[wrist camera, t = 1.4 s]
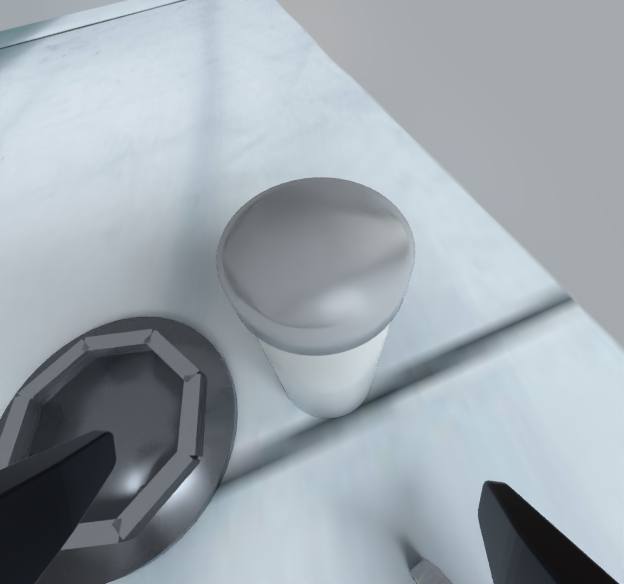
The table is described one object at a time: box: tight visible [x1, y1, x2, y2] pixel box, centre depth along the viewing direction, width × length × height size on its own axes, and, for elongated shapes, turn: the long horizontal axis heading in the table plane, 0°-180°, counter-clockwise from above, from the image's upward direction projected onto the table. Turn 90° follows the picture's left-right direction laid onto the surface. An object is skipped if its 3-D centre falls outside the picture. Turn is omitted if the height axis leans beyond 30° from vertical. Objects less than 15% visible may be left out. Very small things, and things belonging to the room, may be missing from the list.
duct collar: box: [0, 317, 237, 584], centre depth 20 cm, size 15×15×2 cm
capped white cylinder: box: [217, 178, 415, 418], centre depth 16 cm, size 6×6×13 cm
